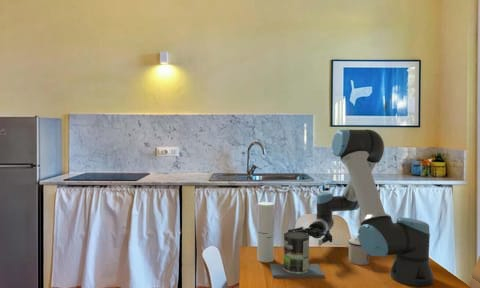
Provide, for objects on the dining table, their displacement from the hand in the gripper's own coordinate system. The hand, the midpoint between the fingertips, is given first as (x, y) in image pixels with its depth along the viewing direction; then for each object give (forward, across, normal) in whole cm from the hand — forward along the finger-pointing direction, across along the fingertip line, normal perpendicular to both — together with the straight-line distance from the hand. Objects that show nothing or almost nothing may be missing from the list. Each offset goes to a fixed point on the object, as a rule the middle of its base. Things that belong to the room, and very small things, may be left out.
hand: (303, 240), depth 158 cm
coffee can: (+9, 0, -10) cm, 13 cm away
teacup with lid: (-17, -20, -11) cm, 28 cm away
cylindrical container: (+2, +17, -11) cm, 20 cm away
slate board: (+9, 0, -10) cm, 14 cm away
